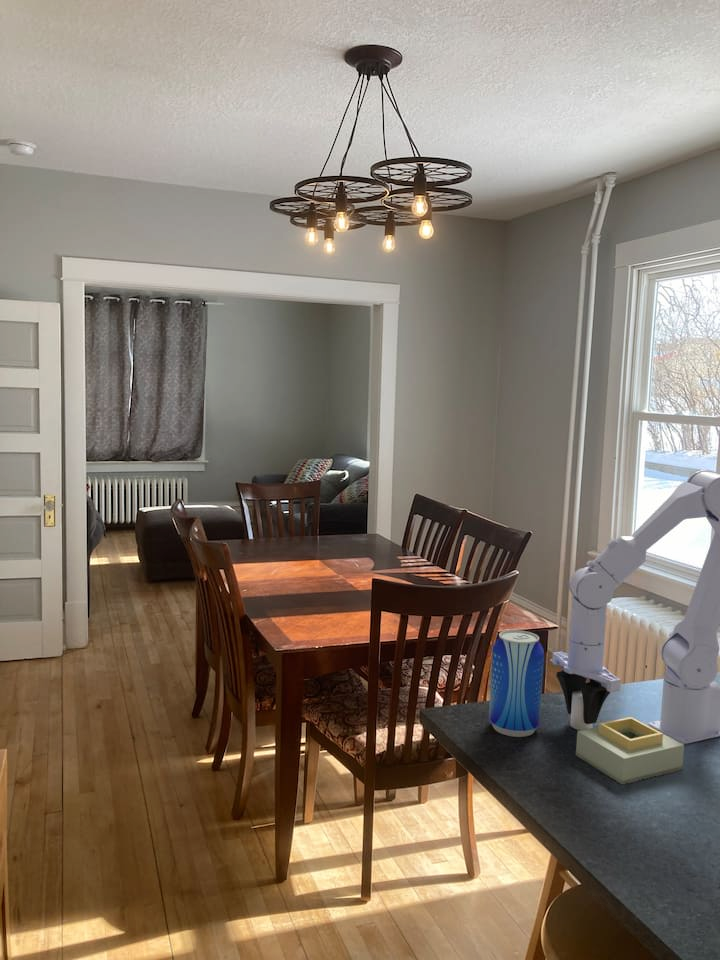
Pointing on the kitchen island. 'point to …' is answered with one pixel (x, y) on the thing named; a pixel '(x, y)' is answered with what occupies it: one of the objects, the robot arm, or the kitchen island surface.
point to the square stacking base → (629, 750)
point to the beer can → (516, 683)
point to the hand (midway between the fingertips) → (581, 717)
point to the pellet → (578, 712)
